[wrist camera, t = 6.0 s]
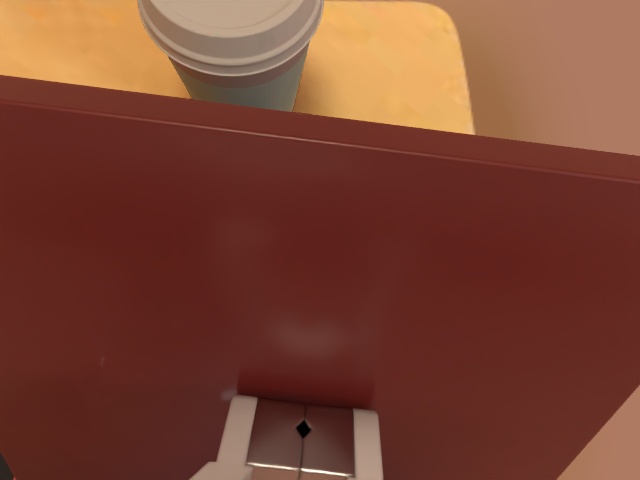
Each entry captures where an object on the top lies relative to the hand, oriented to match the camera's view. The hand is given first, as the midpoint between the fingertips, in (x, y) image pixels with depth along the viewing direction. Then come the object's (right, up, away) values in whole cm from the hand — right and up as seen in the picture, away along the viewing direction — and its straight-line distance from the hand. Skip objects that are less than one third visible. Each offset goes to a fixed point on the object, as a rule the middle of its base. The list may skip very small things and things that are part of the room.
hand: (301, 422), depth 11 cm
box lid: (-1, -1, +2) cm, 2 cm away
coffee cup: (-4, +12, +23) cm, 26 cm away
